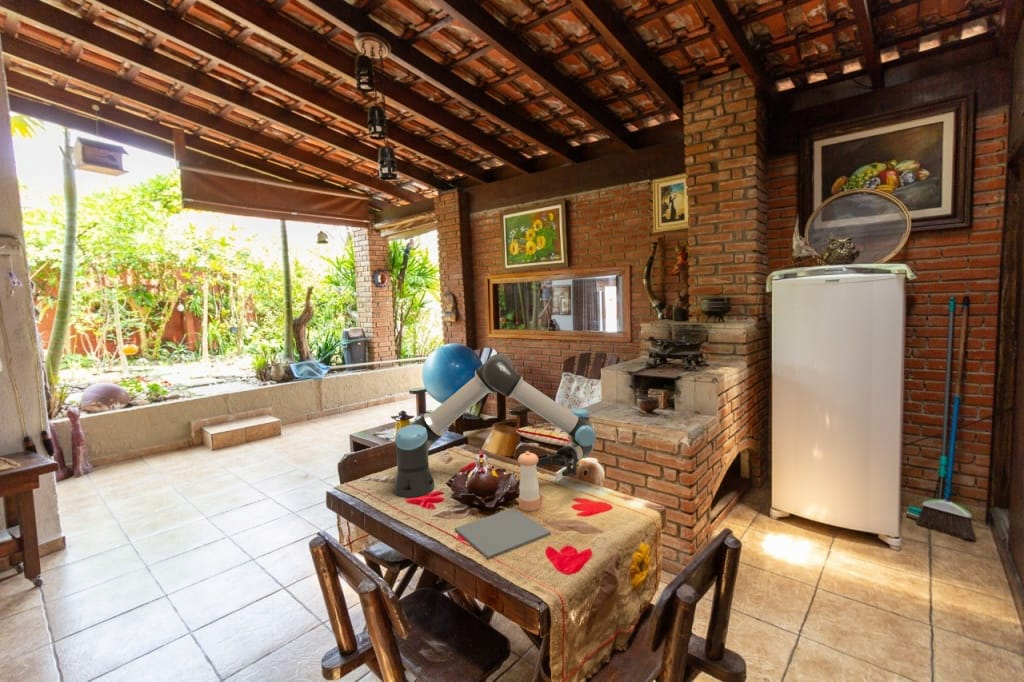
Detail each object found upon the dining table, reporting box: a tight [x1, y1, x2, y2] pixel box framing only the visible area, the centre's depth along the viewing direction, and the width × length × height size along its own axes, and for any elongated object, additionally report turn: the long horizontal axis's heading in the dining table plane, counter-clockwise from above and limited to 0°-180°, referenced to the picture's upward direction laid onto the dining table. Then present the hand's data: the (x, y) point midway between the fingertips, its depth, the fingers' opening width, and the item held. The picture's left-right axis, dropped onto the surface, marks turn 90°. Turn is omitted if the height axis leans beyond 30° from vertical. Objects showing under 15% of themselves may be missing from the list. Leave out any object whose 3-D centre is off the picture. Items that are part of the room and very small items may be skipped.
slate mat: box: [454, 507, 552, 560], centre depth 140 cm, size 20×22×1 cm
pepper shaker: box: [517, 451, 541, 512], centre depth 156 cm, size 7×7×19 cm
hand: (539, 473), depth 161 cm, fingers open, 13 cm apart
